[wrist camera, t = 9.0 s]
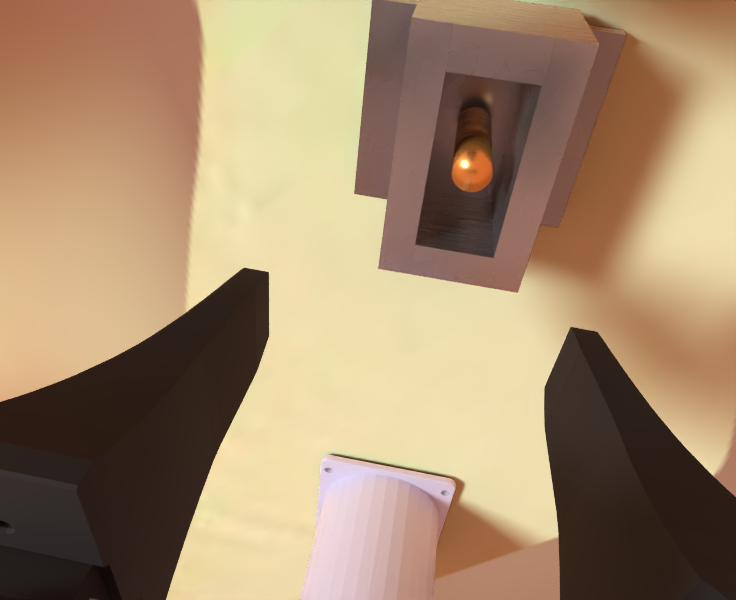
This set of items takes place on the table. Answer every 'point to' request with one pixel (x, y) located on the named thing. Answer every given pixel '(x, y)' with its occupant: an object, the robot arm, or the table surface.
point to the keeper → (463, 117)
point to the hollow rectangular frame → (524, 147)
